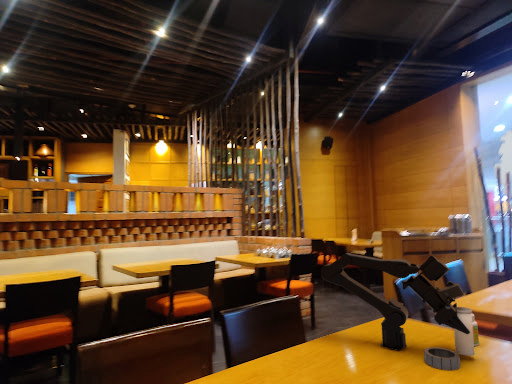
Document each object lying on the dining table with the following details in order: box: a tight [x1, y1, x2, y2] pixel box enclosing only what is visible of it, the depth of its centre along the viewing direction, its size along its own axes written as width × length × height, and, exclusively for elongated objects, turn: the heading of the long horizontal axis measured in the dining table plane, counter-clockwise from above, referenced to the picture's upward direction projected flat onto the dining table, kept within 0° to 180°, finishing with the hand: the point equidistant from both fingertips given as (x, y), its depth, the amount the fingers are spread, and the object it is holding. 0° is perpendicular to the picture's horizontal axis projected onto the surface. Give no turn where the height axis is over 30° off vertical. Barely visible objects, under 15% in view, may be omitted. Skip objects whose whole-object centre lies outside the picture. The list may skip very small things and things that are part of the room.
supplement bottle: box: [472, 313, 480, 347], centre depth 115 cm, size 5×5×10 cm
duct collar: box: [423, 346, 461, 371], centre depth 99 cm, size 9×9×3 cm
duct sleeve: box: [453, 306, 476, 357], centre depth 103 cm, size 5×5×13 cm
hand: (468, 330), depth 103 cm, fingers closed on duct sleeve, 5 cm apart
